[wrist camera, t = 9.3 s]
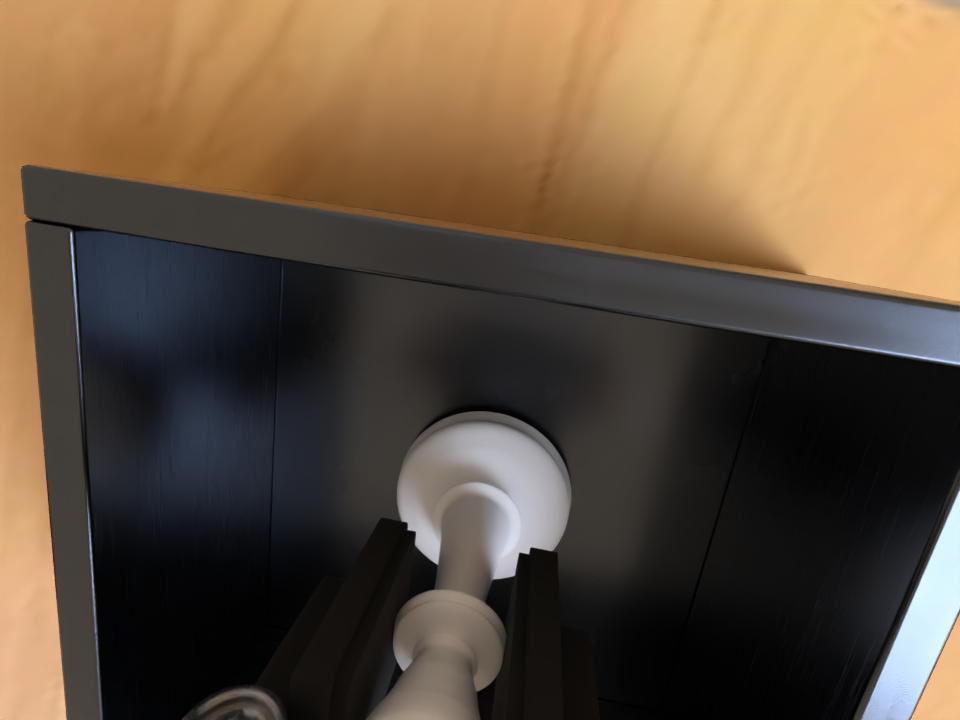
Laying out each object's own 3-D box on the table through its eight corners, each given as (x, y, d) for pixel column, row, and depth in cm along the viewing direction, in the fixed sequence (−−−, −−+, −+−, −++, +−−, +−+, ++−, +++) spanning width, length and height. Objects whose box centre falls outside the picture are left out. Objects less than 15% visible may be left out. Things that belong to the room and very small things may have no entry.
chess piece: (602, 527, 15) (710, 1098, 5) (455, 590, 16) (313, 1157, 6) (516, 379, 14) (452, 719, 4) (368, 457, 15) (53, 864, 5)
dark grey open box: (267, 193, 14) (16, 162, 8) (812, 275, 13) (1097, 325, 6) (253, 626, 18) (76, 865, 11) (674, 720, 17) (760, 1050, 10)
